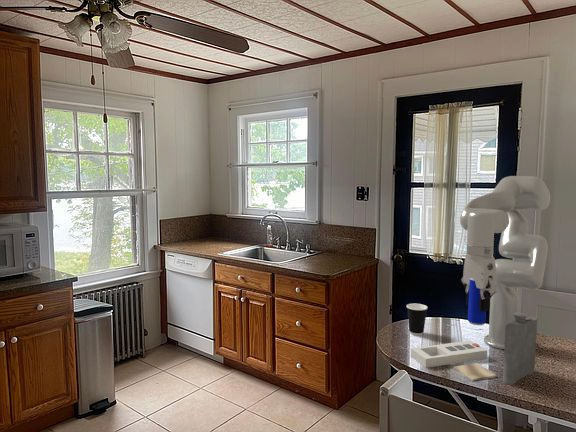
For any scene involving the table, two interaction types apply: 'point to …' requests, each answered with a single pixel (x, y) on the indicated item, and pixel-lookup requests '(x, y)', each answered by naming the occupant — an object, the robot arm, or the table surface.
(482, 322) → the beverage can
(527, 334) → the hip flask
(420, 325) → the dixie cup
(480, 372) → the coaster pad
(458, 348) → the power strip
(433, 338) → the table surface
